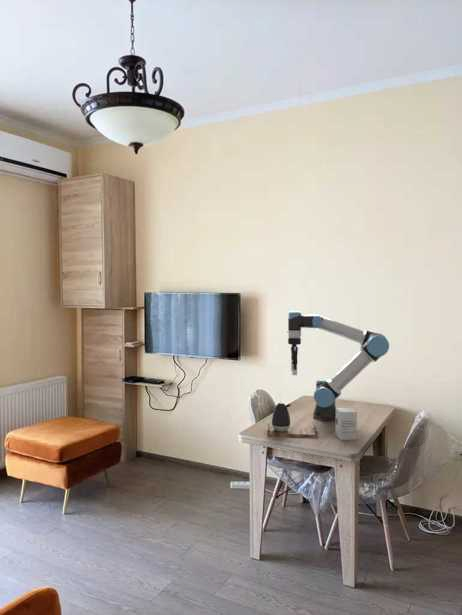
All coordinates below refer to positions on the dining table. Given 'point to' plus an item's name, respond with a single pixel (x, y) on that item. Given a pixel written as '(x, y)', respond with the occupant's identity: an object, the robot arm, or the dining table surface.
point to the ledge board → (294, 432)
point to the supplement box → (346, 423)
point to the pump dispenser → (281, 417)
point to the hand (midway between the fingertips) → (294, 373)
